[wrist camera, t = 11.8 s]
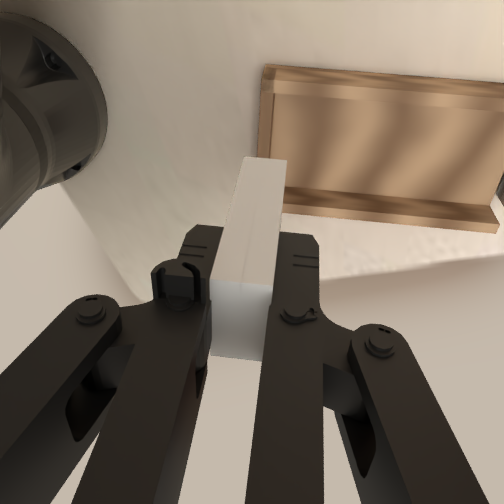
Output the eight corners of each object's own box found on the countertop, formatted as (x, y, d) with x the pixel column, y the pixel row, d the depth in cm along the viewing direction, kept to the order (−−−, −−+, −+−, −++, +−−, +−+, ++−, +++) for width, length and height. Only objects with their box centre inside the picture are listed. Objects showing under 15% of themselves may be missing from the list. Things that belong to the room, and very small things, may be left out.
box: (258, 188, 47) (253, 209, 44) (265, 64, 40) (261, 79, 37) (483, 210, 46) (495, 233, 43) (534, 85, 38) (553, 102, 35)
